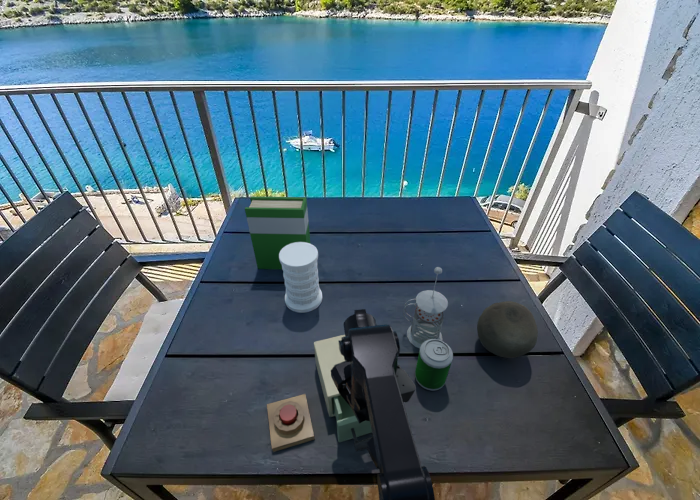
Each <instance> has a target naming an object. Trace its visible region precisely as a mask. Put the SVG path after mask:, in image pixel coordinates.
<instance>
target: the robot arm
mask: <svg viewBox="0 0 700 500" xmlns="http://www.w3.org/2000/svg"><path fill="white" fill-rule="evenodd" d="M343 331H344V335H345V337H342V340H339V350H340V353H341V355H343V356H344V360H346V361H343V362H341V363H338V364H336V365H334V367H333V368H332V369H331V377H332V379H333V381H334V384H335V386H336V388H337V390H338V392H339V394H340V395H341V396H342V397H343V399H344V400H345V401H346V402H347V404H348V405H349V406H350V407H351V408H352V410H353V412H354V414H355V416H356V418H357V420H358V422H359V423H361V422H364V421H370V424H371V429H372V432H371V434H372V436H371V437H372V438H371V437H370V438H371V439H370V440H369V441H368V442H367V447H366V450H367V452H368V455H369V456H370V459H371V460H372V462H373V464H374V466H375V468H376V469H377V470H379V472H377V474H376V482H377V491H378V500H436V497H435V491H434V486H433V485H434V484H433V482H432V478H431V475H430V472H429V470H428V468H427V467H426V466H425V465H423V466H422V464H421V459H420V455H419V453H418V449H417V446H416V441H415V439H414V435H413V431H412V428H411V424H410V420H409V417H408V415H407V410H406V408H405V404H404V403H408V402H410V400H411V398H412V396H413V395H414V394H415V391H416V390H417V386H416V384H415V382H414V381H413V380H412V378H411V376H410V375H409V374H408V372H407V371H406V370H405V369H403V368H402V367H401V365H400V364H398V359H399V356H400V354H401V353H400V352H401V347H400V340H399V335H398V333H397V331H395V330H393V328H392V325H390V324H387V323H386V324H377V322H376V319H375V317H374V316H373V315H372V314H370V313H367V310H366V308H362V309H354V313H353V314H351V315H350V316H348V317H347V318H346V319H345V320H344V322H343Z"/></svg>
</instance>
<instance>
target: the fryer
mask: <svg viewBox="0 0 700 500" xmlns="http://www.w3.org/2000/svg"><path fill="white" fill-rule="evenodd" d="M342 337H345V334H341V335H337V336H333V337H329V338H324V339H320V340H316V341H313V349H314V358H315V365H316V370H317V373H318V378H319V381H320V386H321V389H322V390H321V391H322V394H323V397H324V401H325V402H324V403H325V406H326V409H327V414H328V417H329V418H332V417H336V416H335V412H334V408H333V405H332V397H336V396H339V395H340V394H339V392H338V390H337V388H336V386H335V384H334V381H333V379H332V377H331V369H332V368H333V367H334V365H336V364H338V363H341V362H343V361H346V360H344V356H343V355H341V353H340V350H339V340H342Z"/></svg>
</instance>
